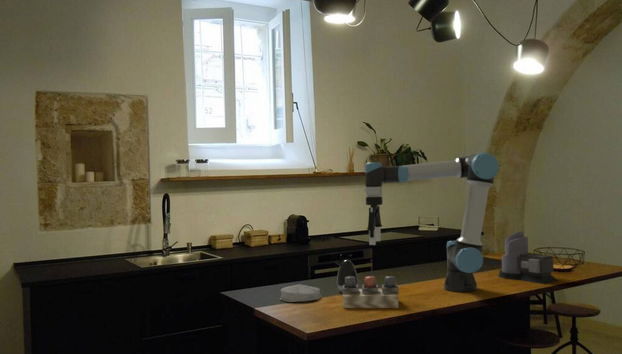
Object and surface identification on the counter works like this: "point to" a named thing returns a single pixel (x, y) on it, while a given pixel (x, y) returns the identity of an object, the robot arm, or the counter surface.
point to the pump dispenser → (345, 273)
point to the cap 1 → (350, 282)
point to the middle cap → (369, 281)
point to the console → (370, 297)
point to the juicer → (525, 262)
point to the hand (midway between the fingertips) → (375, 243)
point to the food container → (300, 293)
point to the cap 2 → (389, 281)
